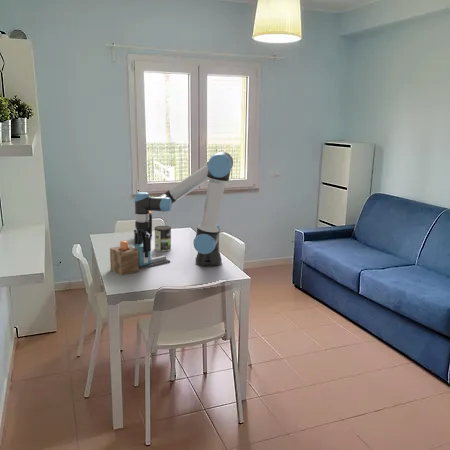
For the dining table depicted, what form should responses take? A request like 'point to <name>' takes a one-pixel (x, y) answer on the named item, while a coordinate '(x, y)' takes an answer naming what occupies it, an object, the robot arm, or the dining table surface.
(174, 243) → the dining table surface
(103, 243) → the dining table surface
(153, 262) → the rail
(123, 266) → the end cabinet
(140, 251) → the block
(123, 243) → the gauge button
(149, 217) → the coffee jar
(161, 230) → the coffee can
